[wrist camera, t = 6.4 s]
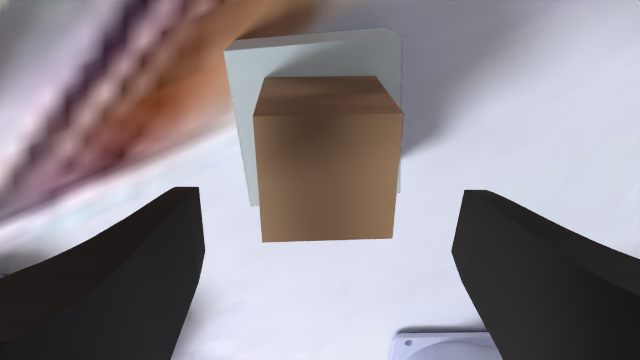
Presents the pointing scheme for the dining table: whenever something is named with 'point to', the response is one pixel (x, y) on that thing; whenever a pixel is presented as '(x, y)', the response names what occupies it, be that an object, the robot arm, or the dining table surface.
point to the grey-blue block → (306, 73)
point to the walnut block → (326, 158)
